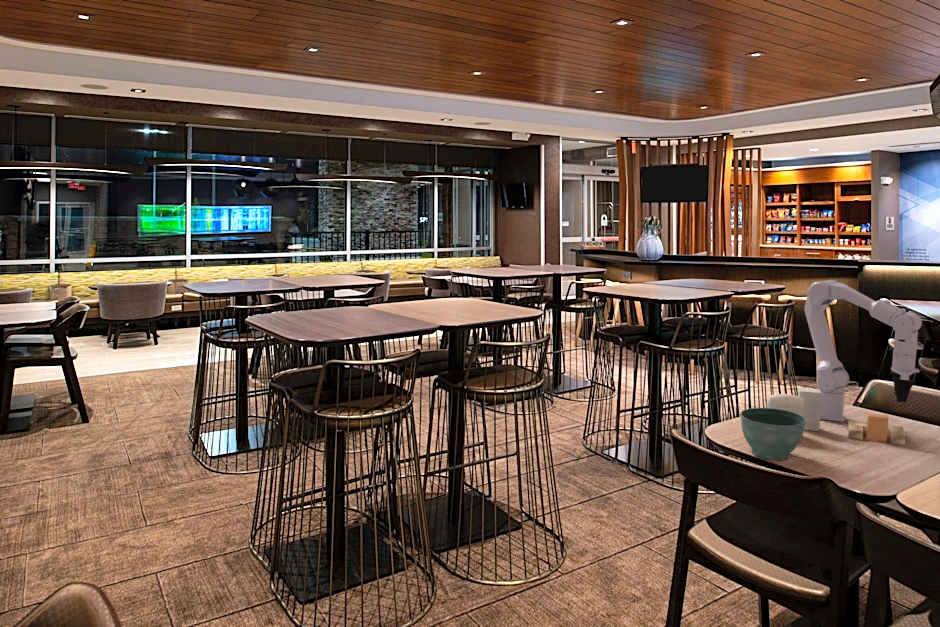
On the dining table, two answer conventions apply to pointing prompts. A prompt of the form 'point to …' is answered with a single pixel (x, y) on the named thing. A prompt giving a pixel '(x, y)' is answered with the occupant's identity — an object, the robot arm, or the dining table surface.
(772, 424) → the green bowl
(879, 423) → the orange brown rectangular block
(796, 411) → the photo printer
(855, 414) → the dining table surface
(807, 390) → the skincare box
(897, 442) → the notched board
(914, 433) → the dining table surface
